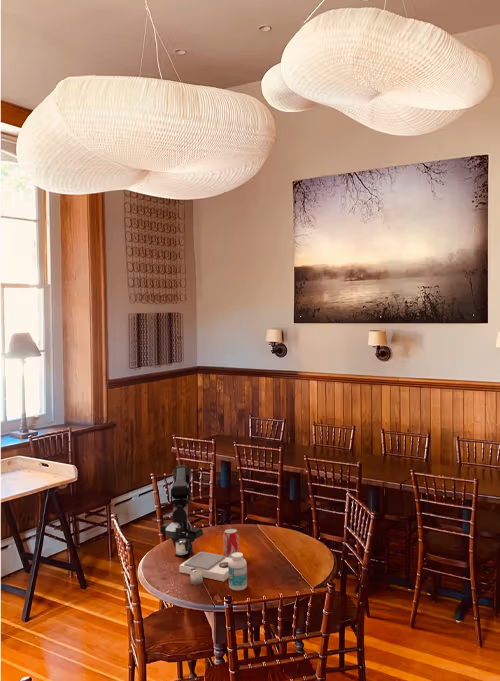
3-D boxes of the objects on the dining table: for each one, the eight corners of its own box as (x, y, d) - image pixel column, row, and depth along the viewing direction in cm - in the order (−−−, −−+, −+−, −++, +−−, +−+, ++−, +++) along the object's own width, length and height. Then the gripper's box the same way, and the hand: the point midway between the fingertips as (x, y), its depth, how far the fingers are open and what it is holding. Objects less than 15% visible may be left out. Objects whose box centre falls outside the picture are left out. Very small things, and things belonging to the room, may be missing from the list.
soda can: (237, 560, 275) (236, 533, 274) (221, 559, 276) (221, 533, 275) (240, 553, 281) (239, 528, 281) (225, 553, 283) (224, 527, 282)
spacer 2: (188, 583, 252) (187, 571, 252) (194, 578, 256) (194, 566, 256) (198, 585, 250) (198, 573, 250) (205, 580, 254) (204, 568, 254)
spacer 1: (173, 553, 259) (173, 542, 258) (180, 549, 263) (180, 538, 263) (183, 555, 256) (183, 544, 256) (190, 551, 261) (189, 540, 260)
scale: (179, 572, 263) (179, 563, 263) (199, 558, 277) (199, 550, 277) (223, 581, 253) (223, 572, 253) (242, 566, 267) (241, 558, 267)
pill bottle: (228, 583, 251) (227, 551, 250) (246, 582, 251) (245, 550, 251) (229, 591, 243) (228, 558, 243) (247, 590, 244) (247, 557, 243)
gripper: (151, 516, 256) (152, 553, 257) (188, 523, 247) (189, 561, 248) (167, 509, 266) (168, 544, 267) (203, 515, 257) (204, 551, 258)
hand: (181, 550), depth 260 cm, fingers closed on spacer 1, 5 cm apart
